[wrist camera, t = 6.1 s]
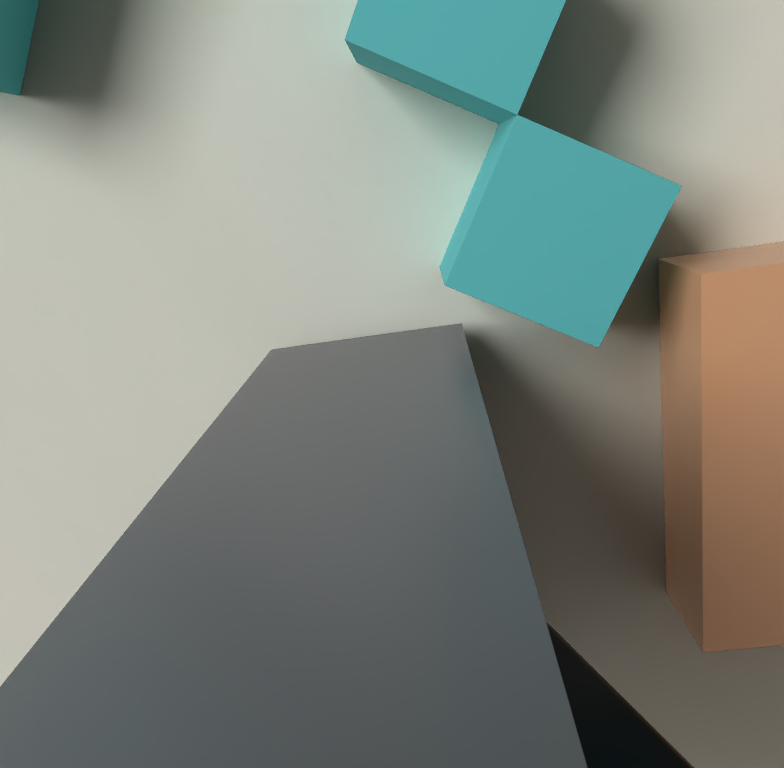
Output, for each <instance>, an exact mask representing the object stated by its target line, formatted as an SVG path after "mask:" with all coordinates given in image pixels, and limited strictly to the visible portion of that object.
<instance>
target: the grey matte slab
mask: <svg viewBox="0 0 784 768" xmlns="http://www.w3.org/2000/svg"><path fill="white" fill-rule="evenodd" d="M0 768H587V764H586V761H585V757H584V754H583V750H582V747H581V743H580V740H579V736H578V733H577V729H576V726H575V722H574V719H573V715H572V712H571V708H570V704H569V701H568V697H567V694H566V690H565V687H564V683H563V680H562V676H561V673H560V669H559V666H558V662H557V659H556V655H555V652H554V648H553V644H552V641H551V637H550V634H549V630H548V627H547V623H546V620H545V616H544V613H543V609H542V606H541V602H540V599H539V595H538V591H537V588H536V584H535V581H534V577H533V574H532V570H531V567H530V563H529V560H528V556H527V553H526V549H525V546H524V542H523V539H522V535H521V531H520V528H519V524H518V521H517V517H516V514H515V510H514V507H513V503H512V500H511V496H510V493H509V489H508V486H507V482H506V479H505V475H504V471H503V468H502V464H501V461H500V457H499V454H498V450H497V447H496V443H495V440H494V436H493V433H492V429H491V426H490V422H489V418H488V415H487V411H486V408H485V404H484V401H483V397H482V394H481V390H480V387H479V383H478V380H477V376H476V373H475V369H474V366H473V362H472V358H471V355H470V351H469V348H468V344H467V341H466V337H465V334H464V330H463V327H462V323H461V324H454V325H447V326H439V327H432V328H425V329H418V330H410V331H403V332H396V333H389V334H381V335H374V336H367V337H360V338H352V339H345V340H338V341H331V342H323V343H316V344H309V345H302V346H294V347H287V348H280V349H273V350H271V351H270V352H269V353H268V355H267V356H266V357H265V358H264V360H263V361H262V362H261V363H260V365H259V366H258V367H257V368H256V370H255V371H254V372H253V373H252V375H251V376H250V377H249V378H248V380H247V381H246V382H245V383H244V385H243V386H242V387H241V388H240V389H239V391H238V392H237V393H236V394H235V396H234V397H233V398H232V399H231V401H230V402H229V403H228V404H227V406H226V407H225V408H224V409H223V411H222V412H221V413H220V414H219V416H218V417H217V418H216V419H215V421H214V422H213V423H212V424H211V426H210V427H209V428H208V429H207V431H206V432H205V433H204V434H203V435H202V437H201V438H200V439H199V440H198V442H197V443H196V444H195V445H194V447H193V448H192V449H191V450H190V452H189V453H188V454H187V455H186V457H185V458H184V459H183V460H182V462H181V463H180V464H179V465H178V467H177V468H176V469H175V470H174V472H173V473H172V474H171V475H170V477H169V478H168V479H167V480H166V481H165V483H164V484H163V485H162V486H161V488H160V489H159V490H158V491H157V493H156V494H155V495H154V496H153V498H152V499H151V500H150V501H149V503H148V504H147V505H146V506H145V508H144V509H143V510H142V511H141V513H140V514H139V515H138V516H137V518H136V519H135V520H134V521H133V523H132V524H131V525H130V526H129V528H128V529H127V530H126V531H125V532H124V534H123V535H122V536H121V537H120V539H119V540H118V541H117V542H116V544H115V545H114V546H113V547H112V549H111V550H110V551H109V552H108V554H107V555H106V556H105V557H104V559H103V560H102V561H101V562H100V564H99V565H98V566H97V567H96V569H95V570H94V571H93V572H92V574H91V575H90V576H89V577H88V578H87V580H86V581H85V582H84V583H83V585H82V586H81V587H80V588H79V590H78V591H77V592H76V593H75V595H74V596H73V597H72V598H71V600H70V601H69V602H68V603H67V605H66V606H65V607H64V608H63V610H62V611H61V612H60V613H59V615H58V616H57V617H56V618H55V620H54V621H53V622H52V623H51V624H50V626H49V627H48V628H47V629H46V631H45V632H44V633H43V634H42V636H41V637H40V638H39V639H38V641H37V642H36V643H35V644H34V646H33V647H32V648H31V649H30V651H29V652H28V653H27V654H26V656H25V657H24V658H23V659H22V661H21V662H20V663H19V664H18V666H17V667H16V668H15V669H14V670H13V672H12V673H11V674H10V675H9V677H8V678H7V679H6V680H5V682H4V683H3V684H2V685H1V687H0Z"/></svg>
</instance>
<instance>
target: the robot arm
mask: <svg viewBox="0 0 784 768" xmlns="http://www.w3.org/2000/svg"><path fill="white" fill-rule="evenodd" d="M546 623H547V622H546ZM547 627H548V630H549V634H550V637H551V641H552V644H553V648H554V652H555V655H556V659H557V662H558V666H559V669H560V673H561V676H562V680H563V683H564V687H565V690H566V694H567V697H568V701H569V704H570V708H571V712H572V715H573V719H574V722H575V726H576V729H577V733H578V736H579V740H580V743H581V747H582V750H583V754H584V757H585V761H586V764H587V768H694V767H693V766H692V765H691V764H690V763H689V762H688V761H687V760H686V759H685V758H684V757H683V756H682V755H681V754H680V753H679V752H678V751H677V750H676V749H675V748H674V747H673V746H672V745H670V744H669V743H668V742H667V741H666V740H665V739H664V738H663V737H662V736H661V735H660V734H659V733H658V732H657V731H656V730H655V729H654V728H653V727H652V726H651V725H650V724H649V723H648V722H647V721H646V720H645V719H644V718H643V717H642V716H641V715H640V714H639V713H638V712H637V711H636V710H635V709H634V708H633V707H632V706H631V705H630V704H629V703H628V702H627V701H626V700H625V699H624V698H623V697H622V696H621V695H620V694H619V693H618V692H617V691H616V690H615V689H614V688H613V687H612V686H611V685H610V684H609V683H608V682H607V681H606V680H605V679H604V678H603V677H602V676H601V675H600V674H599V673H598V672H597V671H596V670H595V669H594V668H593V667H592V666H591V665H590V664H589V663H588V662H587V661H586V660H585V659H583V658H582V657H581V656H580V655H579V654H578V653H577V652H576V651H575V650H574V649H573V648H572V647H571V646H570V645H569V644H568V643H567V642H566V641H565V640H564V639H563V638H562V637H561V636H560V635H559V634H558V633H557V632H556V631H555V630H554V629H553V628H552V627H551V626H550V625H549V624H548V623H547Z"/></svg>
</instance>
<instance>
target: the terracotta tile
mask: <svg viewBox="0 0 784 768" xmlns="http://www.w3.org/2000/svg"><path fill="white" fill-rule="evenodd" d="M658 264H659V306H660V348H661V390H662V431H663V473H664V515H665V557H666V592H667V594H668V596H669V597H670V599H671V601H672V602H673V604H674V606H675V607H676V609H677V610H678V612H679V614H680V615H681V617H682V619H683V620H684V622H685V624H686V625H687V627H688V629H689V630H690V632H691V634H692V635H693V637H694V639H695V640H696V642H697V644H698V645H699V647H700V649H701V650H702V652H703V653H707V652H717V651H728V650H738V649H748V648H758V647H769V646H779V645H784V241H783V242H776V243H769V244H762V245H754V246H747V247H740V248H733V249H726V250H718V251H711V252H704V253H697V254H689V255H682V256H675V257H668V258H661V259H658Z"/></svg>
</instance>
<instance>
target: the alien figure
mask: <svg viewBox="0 0 784 768" xmlns="http://www.w3.org/2000/svg"><path fill="white" fill-rule="evenodd" d="M565 2H566V0H358V2H357V5H356V8H355V11H354V14H353V17H352V20H351V23H350V26H349V29H348V32H347V35H346V38H345V41H346V43H347V45H348V47H349V49H350V51H351V52H352V54H353V56H354V58H355V60H356V62H357V63H360V64H362V65H364V66H367V67H369V68H371V69H373V70H376V71H378V72H380V73H383V74H385V75H387V76H390V77H392V78H394V79H397V80H399V81H401V82H404V83H406V84H408V85H411V86H413V87H415V88H417V89H420V90H422V91H424V92H427V93H429V94H431V95H434V96H436V97H438V98H441V99H443V100H445V101H448V102H450V103H452V104H455V105H457V106H459V107H462V108H464V109H466V110H468V111H471V112H473V113H475V114H478V115H480V116H482V117H485V118H487V119H489V120H492V121H494V122H496V123H499V126H498V129H497V131H496V133H495V136H494V138H493V141H492V143H491V145H490V148H489V150H488V153H487V155H486V157H485V160H484V162H483V164H482V167H481V169H480V172H479V174H478V176H477V179H476V181H475V184H474V186H473V188H472V191H471V193H470V196H469V198H468V200H467V203H466V205H465V207H464V210H463V212H462V215H461V217H460V219H459V222H458V224H457V227H456V229H455V231H454V234H453V236H452V238H451V241H450V243H449V246H448V248H447V250H446V253H445V255H444V258H443V260H442V262H441V265H440V270H441V273H442V277H443V281H444V285H445V286H448V287H450V288H453V289H455V290H457V291H460V292H462V293H465V294H467V295H470V296H472V297H475V298H477V299H480V300H482V301H485V302H487V303H490V304H492V305H494V306H497V307H499V308H502V309H504V310H507V311H509V312H512V313H514V314H517V315H519V316H522V317H524V318H527V319H529V320H531V321H534V322H536V323H539V324H541V325H544V326H546V327H549V328H551V329H554V330H556V331H559V332H561V333H564V334H566V335H568V336H571V337H573V338H576V339H578V340H581V341H583V342H586V343H588V344H591V345H593V346H596V347H598V348H599V346H600V344H601V342H602V340H603V338H604V336H605V334H606V332H607V330H608V328H609V326H610V324H611V322H612V321H613V319H614V317H615V315H616V313H617V311H618V309H619V307H620V305H621V303H622V301H623V299H624V297H625V295H626V293H627V291H628V289H629V288H630V286H631V284H632V282H633V280H634V278H635V276H636V274H637V272H638V270H639V268H640V266H641V264H642V262H643V260H644V258H645V256H646V255H647V253H648V251H649V249H650V247H651V245H652V243H653V241H654V239H655V237H656V235H657V233H658V231H659V229H660V227H661V225H662V223H663V222H664V220H665V218H666V216H667V214H668V212H669V210H670V208H671V206H672V204H673V202H674V200H675V198H676V196H677V194H678V192H679V190H680V189H681V187H682V186H680V185H678V184H676V183H674V182H671V181H669V180H667V179H664V178H662V177H660V176H657V175H655V174H653V173H651V172H648V171H646V170H644V169H641V168H639V167H637V166H634V165H632V164H630V163H627V162H625V161H623V160H621V159H618V158H616V157H614V156H611V155H609V154H607V153H604V152H602V151H600V150H598V149H595V148H593V147H591V146H588V145H586V144H584V143H581V142H579V141H577V140H574V139H572V138H570V137H568V136H565V135H563V134H561V133H558V132H556V131H554V130H551V129H549V128H547V127H545V126H542V125H540V124H538V123H535V122H533V121H531V120H528V119H526V118H524V117H521V116H519V115H517V114H518V112H519V110H520V107H521V105H522V103H523V100H524V98H525V96H526V93H527V91H528V88H529V86H530V84H531V81H532V79H533V77H534V74H535V72H536V70H537V67H538V65H539V63H540V60H541V58H542V56H543V53H544V51H545V49H546V46H547V44H548V41H549V39H550V37H551V34H552V32H553V30H554V27H555V25H556V23H557V20H558V18H559V16H560V13H561V11H562V9H563V6H564V4H565ZM38 4H39V0H0V92H4V93H10V94H15V95H20V93H21V88H22V83H23V78H24V73H25V68H26V63H27V58H28V53H29V48H30V43H31V38H32V34H33V29H34V24H35V19H36V14H37V9H38Z"/></svg>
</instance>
